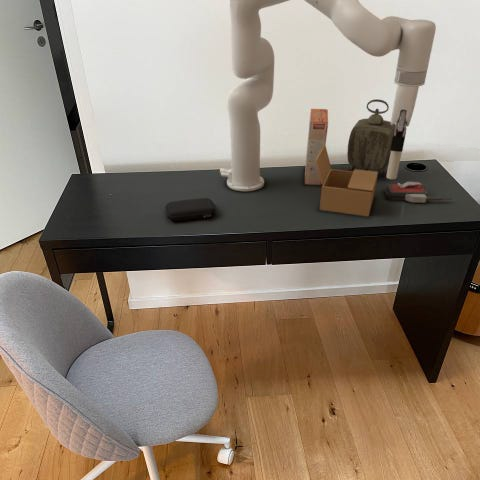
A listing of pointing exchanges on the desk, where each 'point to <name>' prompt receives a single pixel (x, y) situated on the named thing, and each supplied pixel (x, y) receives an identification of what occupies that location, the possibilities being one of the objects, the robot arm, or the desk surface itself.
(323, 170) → the flap
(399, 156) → the marker
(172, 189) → the desk surface
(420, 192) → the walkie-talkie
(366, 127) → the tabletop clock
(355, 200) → the carton
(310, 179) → the cracker box
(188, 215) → the carrying case
